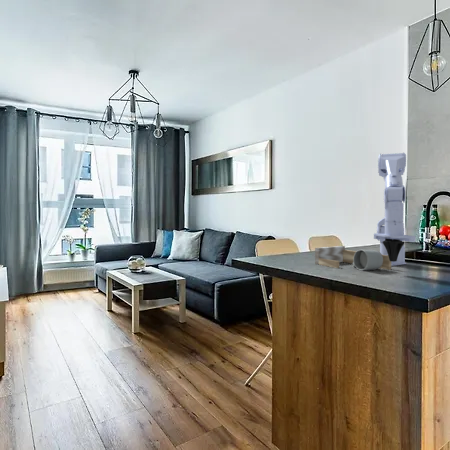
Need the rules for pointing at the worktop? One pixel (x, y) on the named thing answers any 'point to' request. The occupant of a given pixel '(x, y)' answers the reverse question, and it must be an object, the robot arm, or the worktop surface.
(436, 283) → the worktop surface
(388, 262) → the brown wooden pieces
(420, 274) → the worktop surface
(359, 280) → the worktop surface
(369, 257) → the ceramic mug
